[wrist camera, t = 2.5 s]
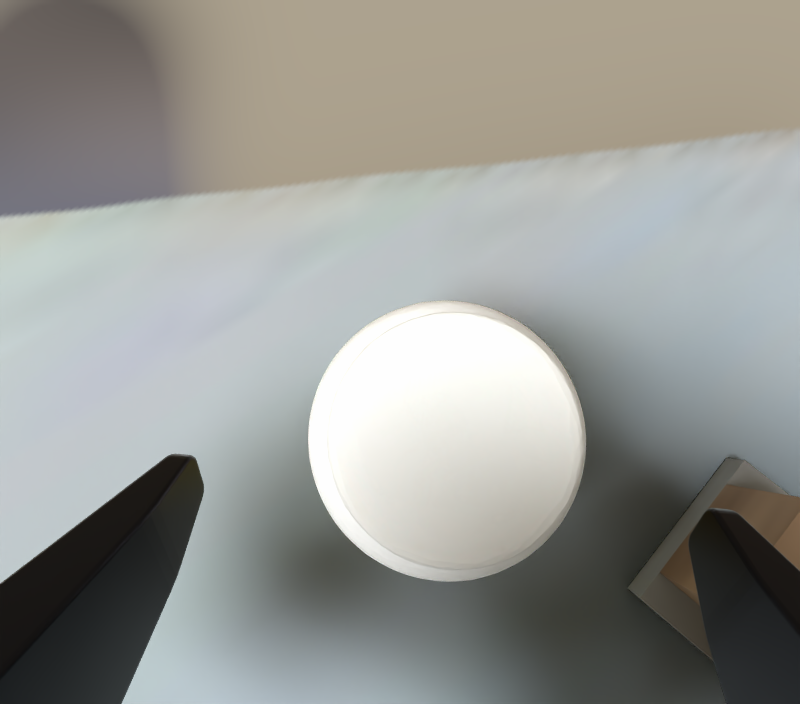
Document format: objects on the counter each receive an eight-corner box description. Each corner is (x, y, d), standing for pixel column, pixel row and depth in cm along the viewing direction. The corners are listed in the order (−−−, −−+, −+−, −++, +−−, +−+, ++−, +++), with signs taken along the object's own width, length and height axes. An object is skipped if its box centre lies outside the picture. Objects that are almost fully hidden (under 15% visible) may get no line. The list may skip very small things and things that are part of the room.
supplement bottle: (499, 533, 17) (609, 678, 7) (339, 496, 18) (230, 585, 8) (528, 372, 18) (664, 297, 8) (374, 340, 18) (318, 231, 8)
